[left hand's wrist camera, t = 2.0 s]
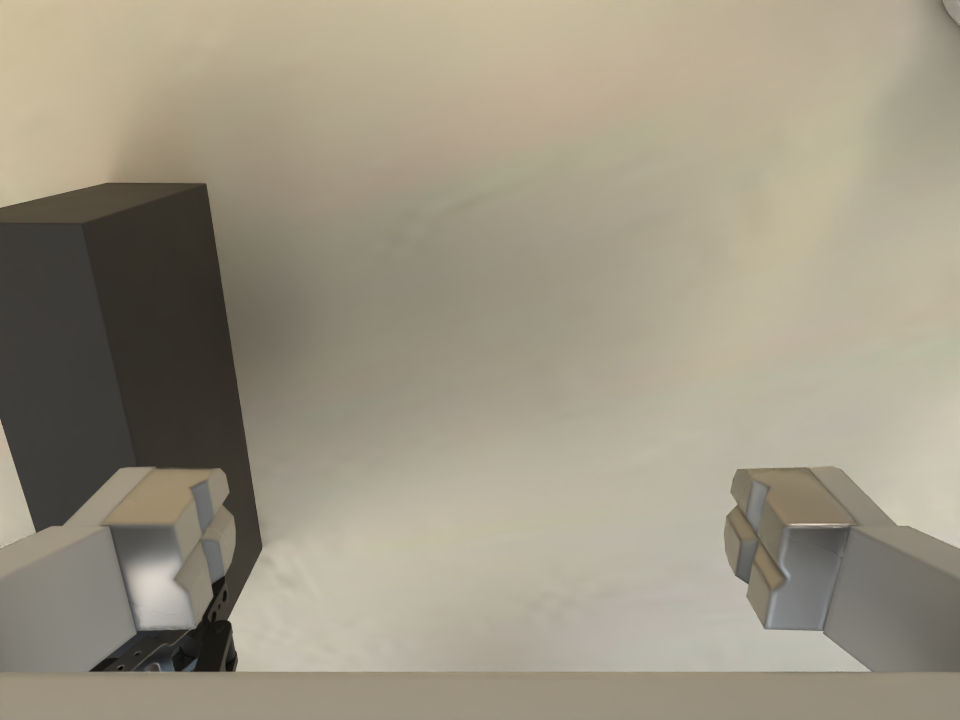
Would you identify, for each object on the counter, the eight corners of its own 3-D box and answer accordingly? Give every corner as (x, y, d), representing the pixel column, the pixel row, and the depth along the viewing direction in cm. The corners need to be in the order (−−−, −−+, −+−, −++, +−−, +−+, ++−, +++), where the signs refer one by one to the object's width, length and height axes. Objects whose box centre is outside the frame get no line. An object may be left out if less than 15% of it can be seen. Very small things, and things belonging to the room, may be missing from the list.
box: (106, 182, 37) (-64, 222, 26) (206, 183, 37) (81, 223, 26) (183, 548, 47) (86, 694, 36) (262, 548, 47) (190, 695, 36)
